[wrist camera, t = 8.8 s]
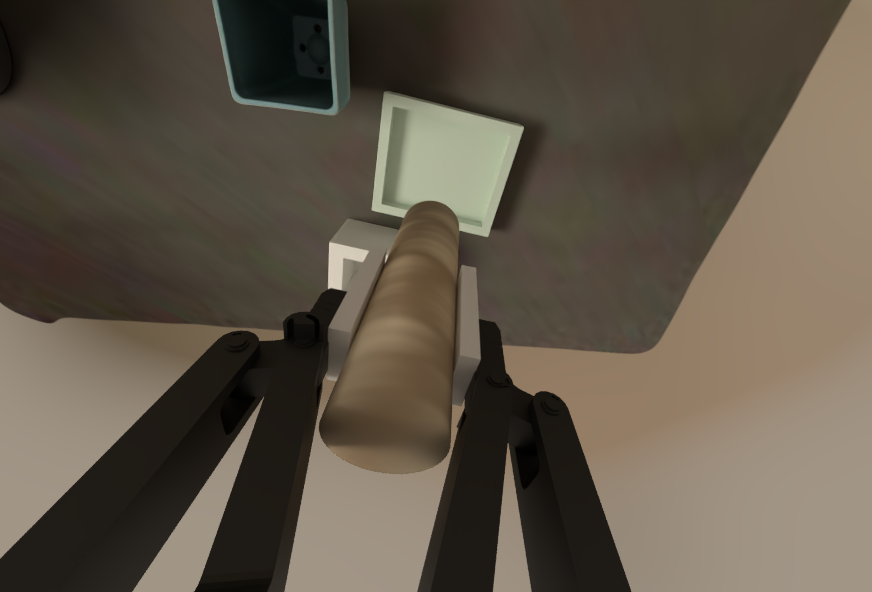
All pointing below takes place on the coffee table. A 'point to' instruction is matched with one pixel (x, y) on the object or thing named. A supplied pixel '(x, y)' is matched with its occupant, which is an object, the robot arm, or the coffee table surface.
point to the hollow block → (355, 250)
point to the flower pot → (286, 53)
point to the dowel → (402, 355)
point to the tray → (442, 160)
